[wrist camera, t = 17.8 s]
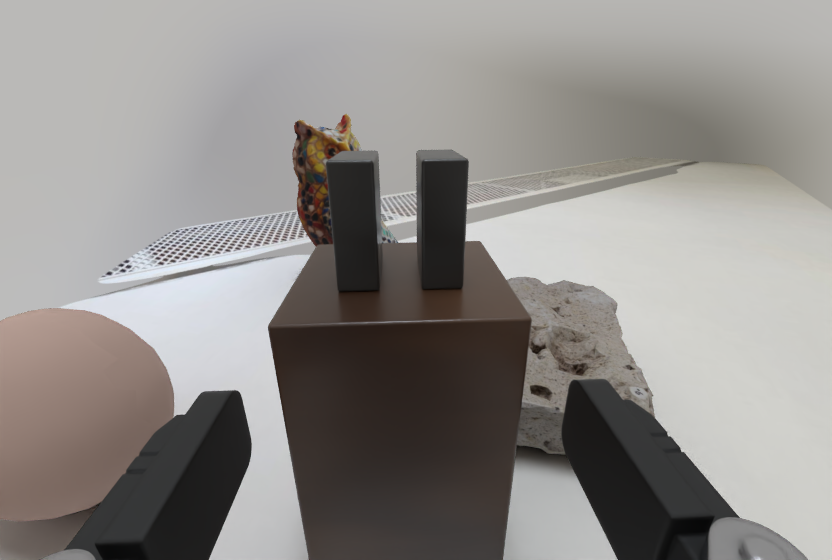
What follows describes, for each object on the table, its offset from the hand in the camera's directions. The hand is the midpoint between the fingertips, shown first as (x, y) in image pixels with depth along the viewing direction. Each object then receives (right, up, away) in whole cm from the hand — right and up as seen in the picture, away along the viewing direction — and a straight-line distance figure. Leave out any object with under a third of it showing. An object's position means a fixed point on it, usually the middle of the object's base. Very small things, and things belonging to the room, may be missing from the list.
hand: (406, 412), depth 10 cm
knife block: (0, -7, +5) cm, 8 cm away
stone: (+8, -3, +13) cm, 16 cm away
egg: (-14, -6, +8) cm, 17 cm away
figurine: (-6, +3, +30) cm, 30 cm away
